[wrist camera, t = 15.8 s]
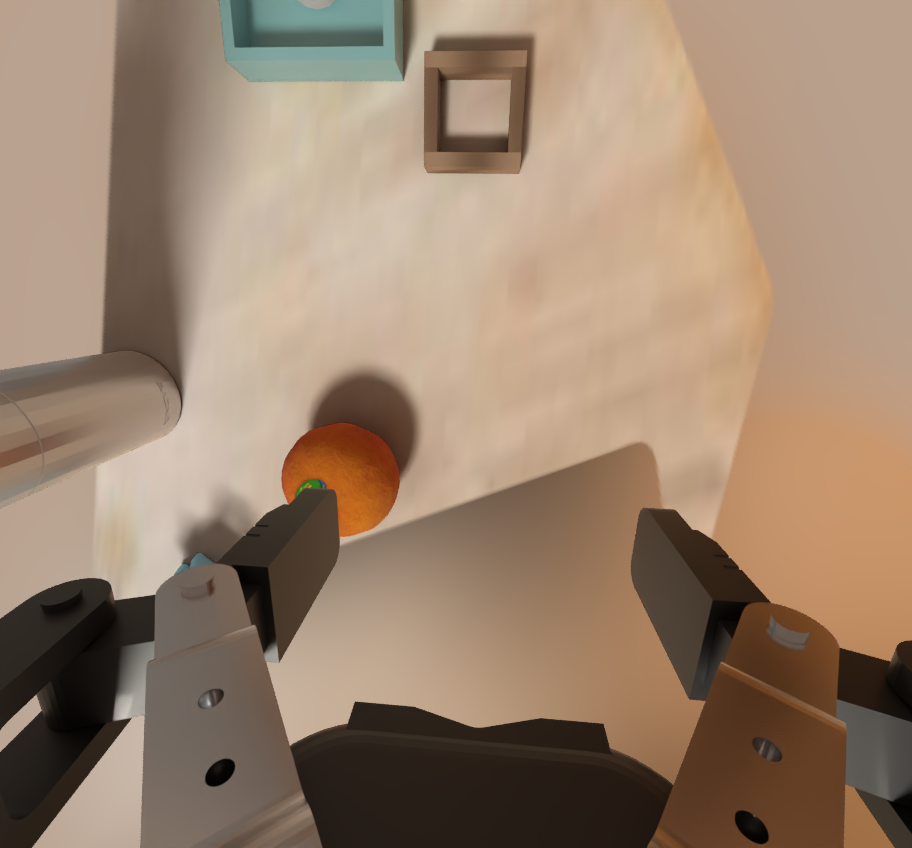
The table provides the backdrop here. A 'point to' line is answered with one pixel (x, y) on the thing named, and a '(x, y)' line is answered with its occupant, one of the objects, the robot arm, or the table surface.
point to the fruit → (345, 473)
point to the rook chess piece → (316, 3)
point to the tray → (314, 40)
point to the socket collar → (473, 68)
